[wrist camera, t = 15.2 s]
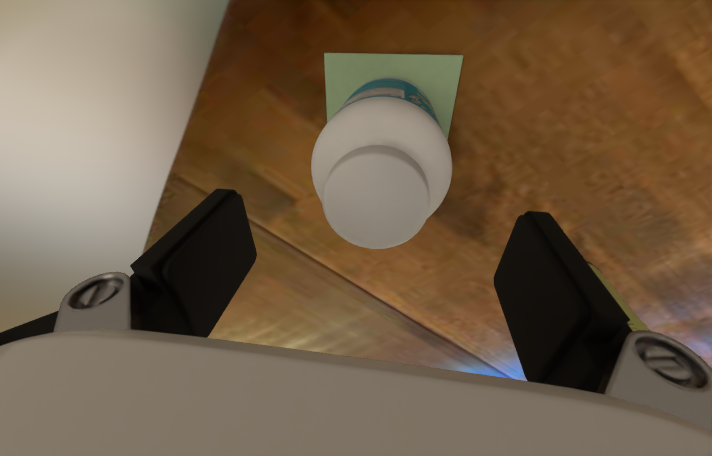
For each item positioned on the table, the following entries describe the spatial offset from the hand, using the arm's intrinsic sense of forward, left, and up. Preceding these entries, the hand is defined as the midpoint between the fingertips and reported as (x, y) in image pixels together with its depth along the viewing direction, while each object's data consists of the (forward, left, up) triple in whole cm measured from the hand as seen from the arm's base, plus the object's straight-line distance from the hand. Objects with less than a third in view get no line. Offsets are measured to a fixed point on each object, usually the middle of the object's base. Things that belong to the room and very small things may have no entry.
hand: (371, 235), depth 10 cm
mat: (0, 0, -16) cm, 16 cm away
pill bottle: (0, 0, -16) cm, 16 cm away
